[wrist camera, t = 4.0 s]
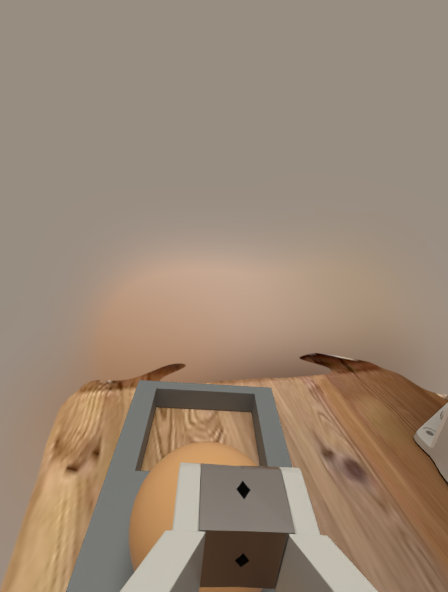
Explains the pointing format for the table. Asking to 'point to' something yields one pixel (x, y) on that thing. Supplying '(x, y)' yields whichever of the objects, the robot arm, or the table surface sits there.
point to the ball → (173, 498)
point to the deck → (128, 476)
